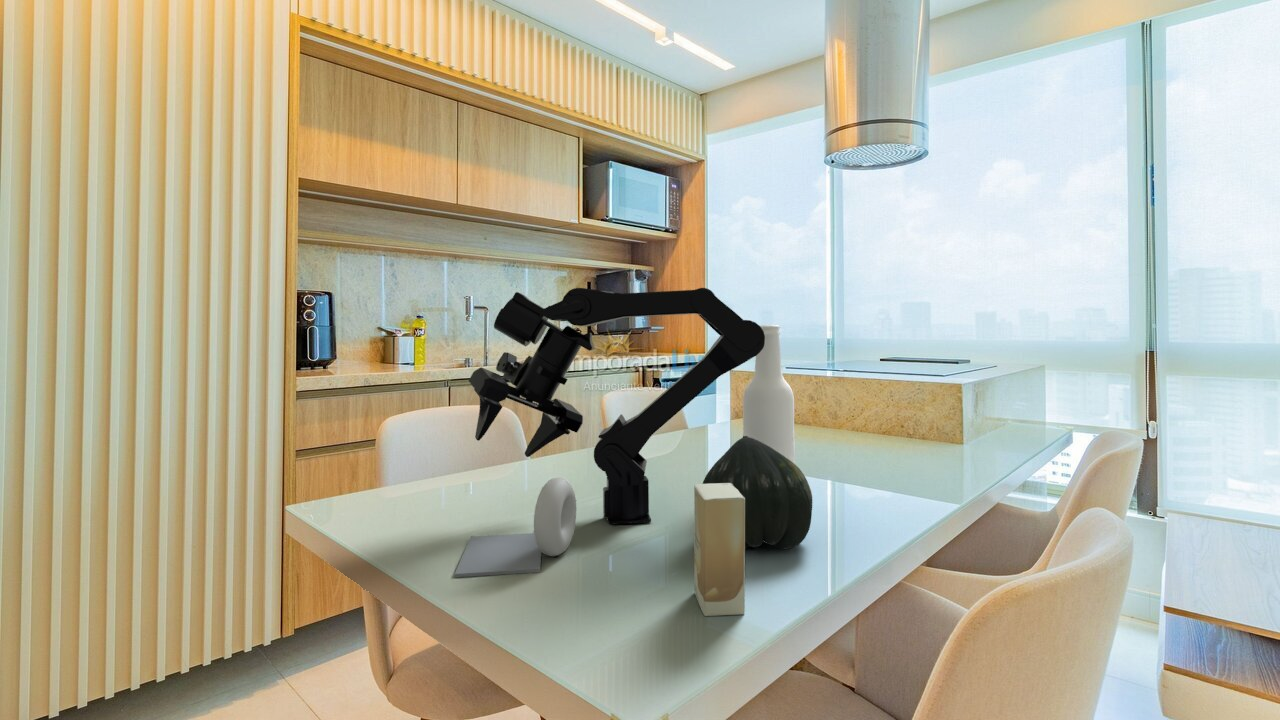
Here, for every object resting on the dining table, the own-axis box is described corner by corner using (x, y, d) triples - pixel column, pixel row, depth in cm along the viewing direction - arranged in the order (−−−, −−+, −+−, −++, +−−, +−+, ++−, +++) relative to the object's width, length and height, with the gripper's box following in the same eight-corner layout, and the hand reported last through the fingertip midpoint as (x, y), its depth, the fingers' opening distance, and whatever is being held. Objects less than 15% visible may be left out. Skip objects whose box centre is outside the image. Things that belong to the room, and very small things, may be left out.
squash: (810, 529, 73) (808, 422, 82) (686, 524, 77) (697, 423, 86) (815, 574, 83) (813, 475, 92) (705, 568, 87) (714, 474, 97)
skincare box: (693, 592, 68) (692, 482, 68) (731, 590, 69) (731, 481, 68) (704, 618, 62) (703, 497, 61) (746, 616, 62) (746, 496, 62)
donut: (556, 569, 76) (555, 488, 75) (529, 567, 76) (528, 487, 76) (580, 542, 85) (579, 470, 85) (556, 540, 86) (555, 469, 86)
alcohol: (794, 490, 112) (793, 325, 111) (794, 503, 103) (794, 324, 102) (744, 488, 114) (744, 326, 113) (741, 501, 105) (740, 325, 104)
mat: (542, 535, 88) (542, 532, 88) (540, 572, 75) (539, 568, 75) (471, 539, 87) (470, 536, 87) (454, 577, 73) (454, 574, 73)
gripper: (575, 365, 108) (531, 441, 109) (483, 322, 96) (435, 407, 97) (604, 389, 99) (556, 472, 100) (507, 345, 88) (454, 439, 89)
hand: (502, 447), depth 97 cm, fingers open, 9 cm apart
